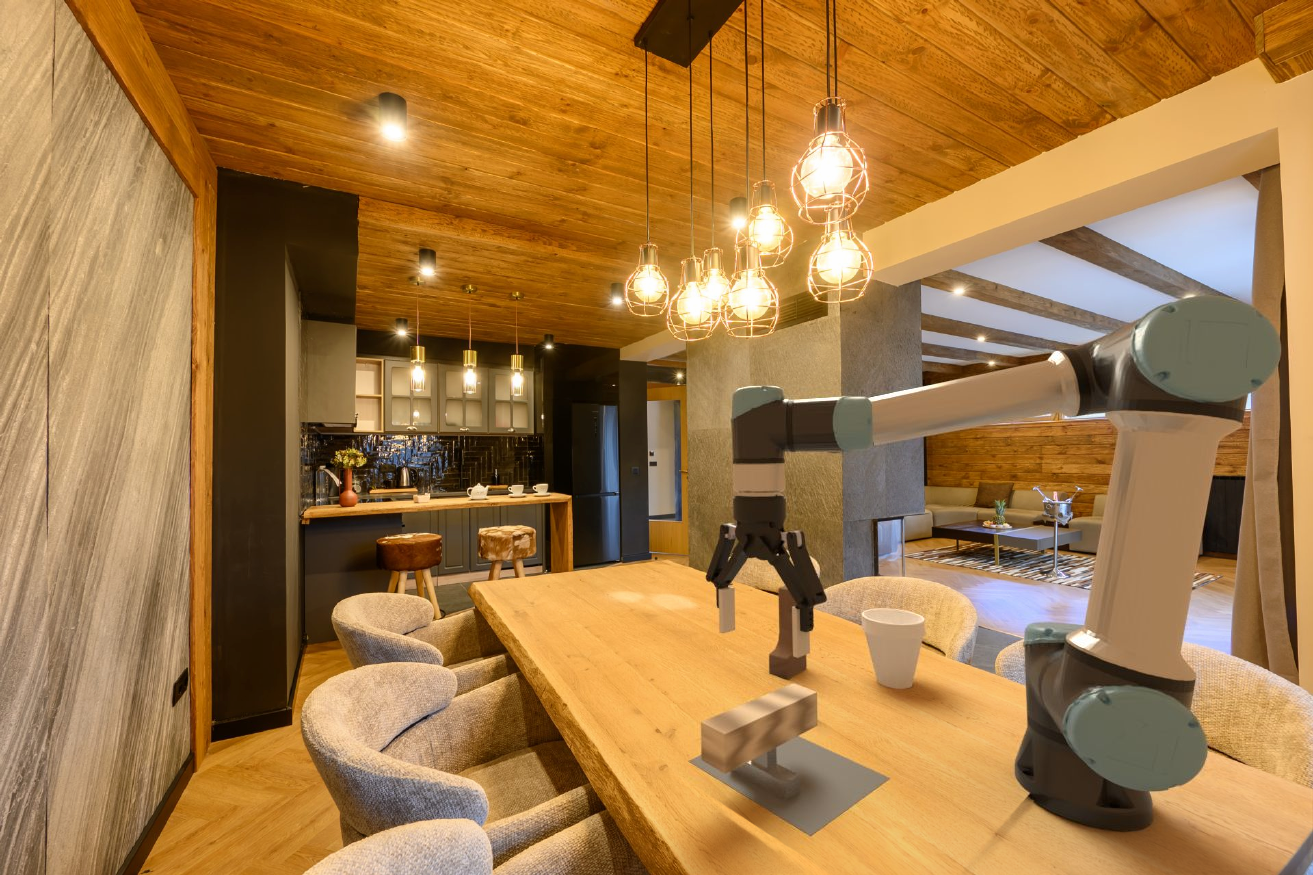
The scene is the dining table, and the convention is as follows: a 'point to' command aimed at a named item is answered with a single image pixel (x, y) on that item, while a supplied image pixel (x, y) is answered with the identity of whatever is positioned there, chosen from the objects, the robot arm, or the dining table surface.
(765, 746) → the beech bar
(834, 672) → the dining table surface
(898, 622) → the cup
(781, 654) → the wooden block
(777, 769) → the fulcrum ridge
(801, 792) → the slate board
